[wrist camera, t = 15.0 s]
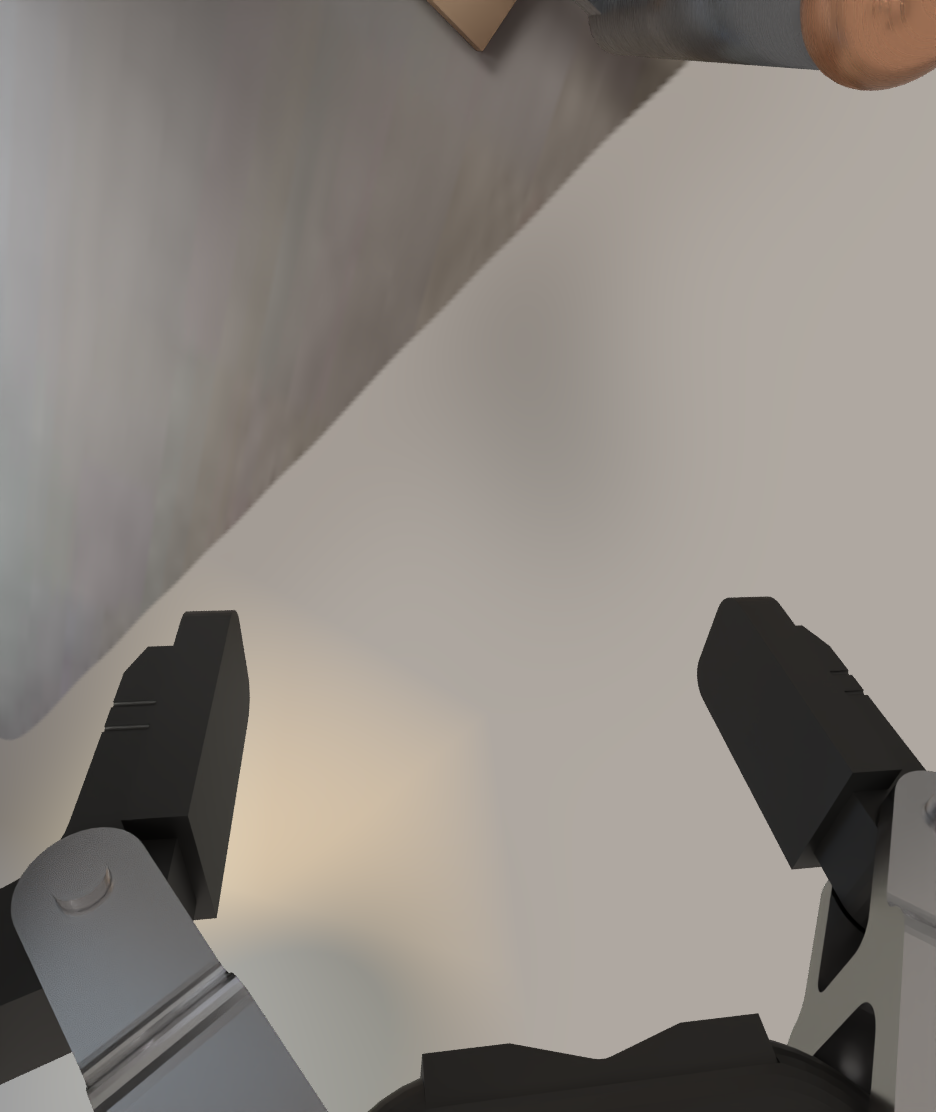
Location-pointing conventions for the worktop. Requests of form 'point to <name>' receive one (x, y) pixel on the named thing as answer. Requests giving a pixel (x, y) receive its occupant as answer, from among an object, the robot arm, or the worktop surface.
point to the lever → (778, 35)
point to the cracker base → (474, 18)
